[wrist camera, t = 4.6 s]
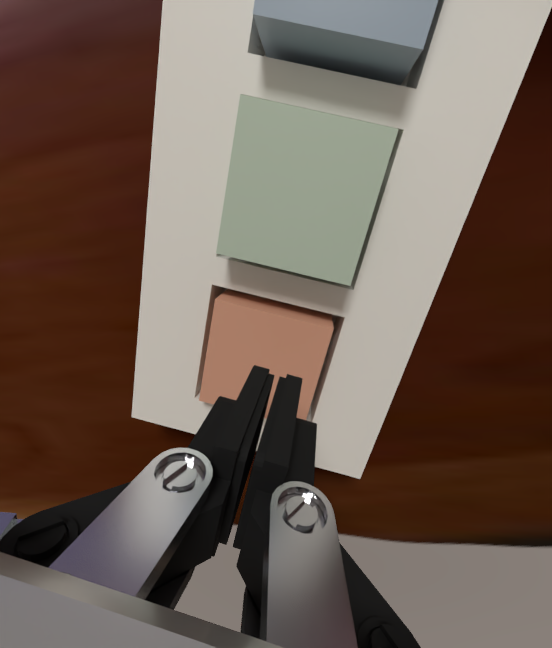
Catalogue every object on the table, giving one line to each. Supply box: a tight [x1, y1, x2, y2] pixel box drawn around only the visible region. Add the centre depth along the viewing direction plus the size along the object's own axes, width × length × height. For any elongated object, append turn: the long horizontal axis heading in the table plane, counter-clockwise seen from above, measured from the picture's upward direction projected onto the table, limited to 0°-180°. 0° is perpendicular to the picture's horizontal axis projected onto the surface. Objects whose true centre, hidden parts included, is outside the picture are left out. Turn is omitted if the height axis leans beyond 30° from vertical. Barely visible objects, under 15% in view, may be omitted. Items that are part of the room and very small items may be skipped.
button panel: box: [132, 0, 552, 479], centre depth 13 cm, size 12×24×3 cm, turn 168°
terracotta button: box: [199, 289, 334, 420], centre depth 15 cm, size 5×5×3 cm
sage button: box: [216, 94, 399, 286], centre depth 12 cm, size 5×5×3 cm
